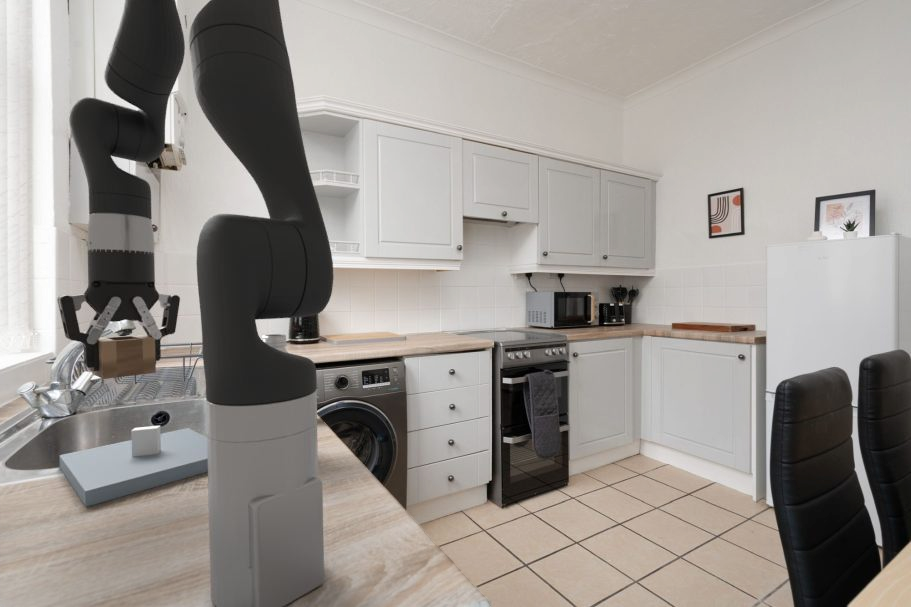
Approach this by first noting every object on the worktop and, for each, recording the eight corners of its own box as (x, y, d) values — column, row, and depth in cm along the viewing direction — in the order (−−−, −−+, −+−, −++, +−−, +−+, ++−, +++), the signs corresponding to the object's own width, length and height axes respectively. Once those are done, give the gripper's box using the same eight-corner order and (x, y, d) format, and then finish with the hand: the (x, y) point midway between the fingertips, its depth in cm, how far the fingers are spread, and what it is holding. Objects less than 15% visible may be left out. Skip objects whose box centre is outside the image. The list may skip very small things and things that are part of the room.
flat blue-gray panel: (233, 464, 69) (232, 426, 69) (85, 506, 55) (84, 459, 55) (188, 438, 82) (187, 406, 82) (59, 468, 68) (58, 429, 68)
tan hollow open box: (155, 372, 63) (155, 337, 63) (102, 379, 58) (102, 341, 58) (142, 367, 67) (142, 335, 66) (92, 373, 62) (91, 338, 62)
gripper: (58, 243, 54) (62, 379, 54) (188, 251, 65) (190, 364, 65) (48, 247, 59) (51, 371, 59) (170, 254, 70) (172, 358, 70)
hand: (124, 367), depth 62 cm, fingers closed on tan hollow open box, 6 cm apart
